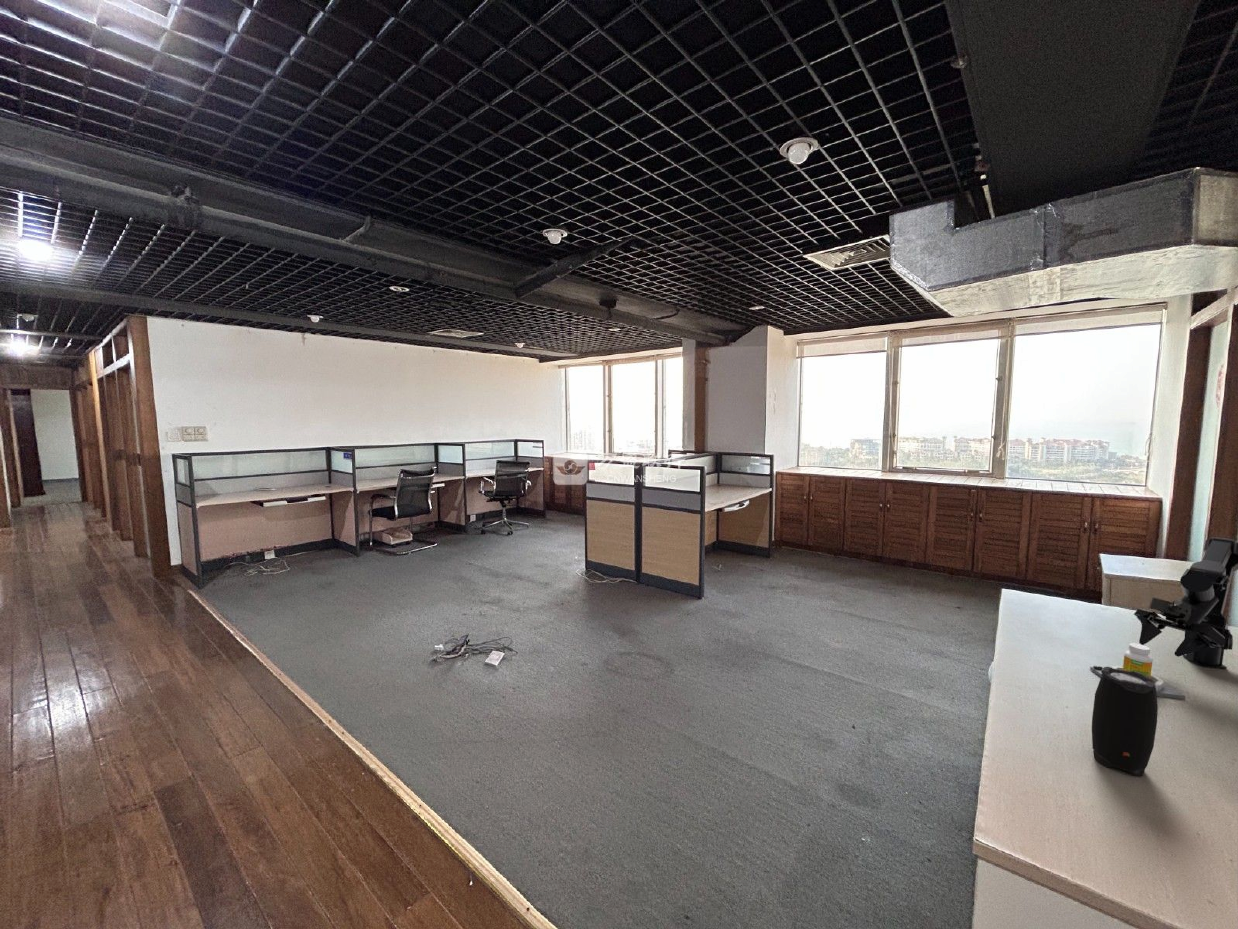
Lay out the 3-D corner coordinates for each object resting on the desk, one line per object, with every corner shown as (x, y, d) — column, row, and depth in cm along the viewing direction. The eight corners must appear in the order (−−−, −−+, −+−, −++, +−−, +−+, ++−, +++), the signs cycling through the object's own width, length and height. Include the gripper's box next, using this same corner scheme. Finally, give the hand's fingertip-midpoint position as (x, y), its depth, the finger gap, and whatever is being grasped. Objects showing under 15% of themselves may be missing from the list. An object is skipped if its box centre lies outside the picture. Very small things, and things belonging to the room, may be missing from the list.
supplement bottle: (1126, 682, 137) (1130, 648, 136) (1118, 673, 142) (1122, 640, 141) (1153, 687, 134) (1157, 652, 133) (1144, 678, 139) (1148, 644, 138)
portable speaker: (1143, 785, 99) (1154, 691, 97) (1081, 758, 107) (1091, 670, 105) (1155, 769, 104) (1166, 679, 102) (1095, 744, 112) (1104, 660, 110)
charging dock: (1149, 676, 142) (1150, 668, 142) (1184, 699, 130) (1186, 690, 130) (1090, 669, 146) (1091, 661, 145) (1119, 691, 134) (1120, 682, 134)
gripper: (1136, 581, 149) (1103, 620, 149) (1210, 596, 131) (1171, 641, 131) (1166, 605, 149) (1132, 645, 149) (1243, 624, 131) (1205, 669, 130)
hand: (1157, 649), depth 140 cm, fingers open, 9 cm apart
